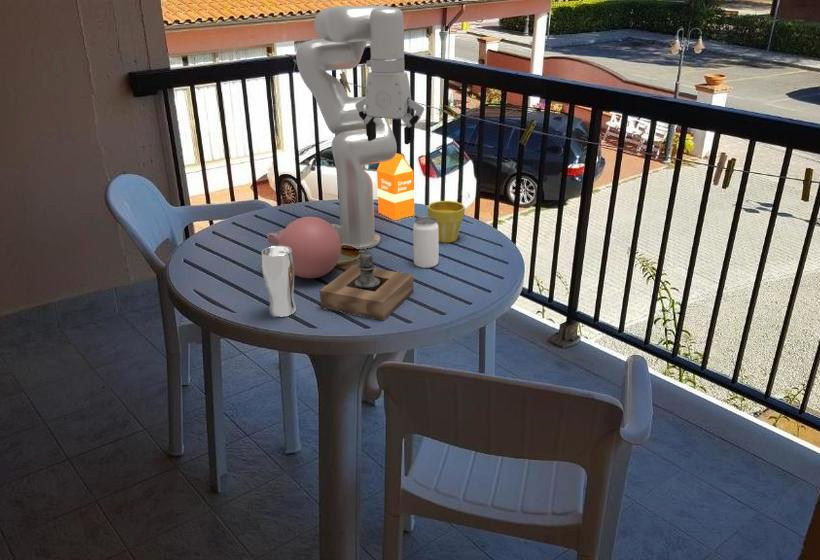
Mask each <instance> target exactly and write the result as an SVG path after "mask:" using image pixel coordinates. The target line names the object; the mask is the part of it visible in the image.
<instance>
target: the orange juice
mask: <svg viewBox="0 0 820 560" xmlns="http://www.w3.org/2000/svg"><path fill="white" fill-rule="evenodd" d="M414 173H415V172H414V170H413V169H412V167H411V166H410V164H409V163H408V160H407V159H406V158H405V156H404V155H403V154H401V153H397V152H396V155H395V157H394V158H393V159H391V160H390V161H386V162H382V163H378V167H377V169H376V176H377V177H376V178H377V179H376V181H377V187H376V188H377V203H378V208H377V209H378V214H379V213H381V214H383V215H385V216H387V217H389V218H391V219H393V220H398V219H401V218H404V217H408V216H413V215H414V216H415V185H414V184H415V183H414V182H415V179H414ZM414 216H413V217H414ZM393 220H392V221H393Z"/></svg>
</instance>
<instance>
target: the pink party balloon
mask: <svg viewBox="0 0 820 560" xmlns="http://www.w3.org/2000/svg"><path fill="white" fill-rule="evenodd" d="M331 224H332V223H330V222H328V221H327V220H325V219H323V218H320V217H316V216H304V217H300V218H297V219H295V220H293V221H292V222H290V223H289V224H288V225H287V226H285V228H284V229H280V230H278V231H276V232H270V233H267V234H266V238H267V241H268V243H269V244H272V246H287V247H290V248H291V249H292V254H293V260H294V267H295V276H298V277H300V278H302V279H317V278H321V277H323V276H326V275H327V274H329V272H331V271H332V270H333V269H334V268H335V267H336V266H337V264H338V262H339V259H340V257H341V253H342V247H341V241H340V238H339V235H338V233H337V231H336V230H335V229H334V227H333V226H332V225H331Z"/></svg>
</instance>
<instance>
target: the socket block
mask: <svg viewBox="0 0 820 560" xmlns="http://www.w3.org/2000/svg"><path fill="white" fill-rule="evenodd" d="M359 266H360V265H357V264H353V265H351V266H350V267H349V268H348V269H346V270H345V271H344V272H342V273H341V274H339V275H338V276H337V277H335V279H333V280H332V281H330V282H329V283H328V284H326V285H325V286H324V287H322V288H321V289H320V290H319V297H320V308H321V307H322V308H327V309H332V310H337V311H342V312H345V313H344V314H347V313H350V314H349V315H352V314H355V315H354V316H357V315H361V316H360V317H362V316H365V317H364V318H367V317H368V319H372V318H374V319H373V320H377V319H378V321H382V320H383V322H384V321H385V320H386V319H388V317H389V316H391V314H392V313H393V312H394V311H395V310H396V309H398V307H400V306H401V305H402V304H403V303H404V302H405V301H406V300H407V299H408V298H409V297H410V296H411V295H412V294H413V293H414V274H410V273H404V272H400V271H399V272H398V271H394V270H393V271H392V270H387V269H381V268H375V267H374V269H373V272H374V277H375V278H378V279H379V280H380V284H379V287H378V289H377V290H376V291H375V292H374V291H368V290H363V289H357V287H356V285H355V281H356V280H357V279H359V278H360V269H359ZM322 308H321V309H322ZM327 309H326V310H327ZM332 310H331V311H332ZM337 311H336V312H337ZM342 312H341V313H342Z"/></svg>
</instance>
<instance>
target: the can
mask: <svg viewBox="0 0 820 560" xmlns="http://www.w3.org/2000/svg"><path fill="white" fill-rule="evenodd" d="M412 228H413V229H412V230H413V231H412V232H413V238H412V239H413V264H414V265H415V266H416V267H418V268H421V269H431V268H434V267H436V266H438V264H439V257H440V256H439V244H440V242H439V234H438V224H437V220H436V219H435V218H432V217H428V216H420V217H417V218H416V219H414V224H413V227H412Z"/></svg>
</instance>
